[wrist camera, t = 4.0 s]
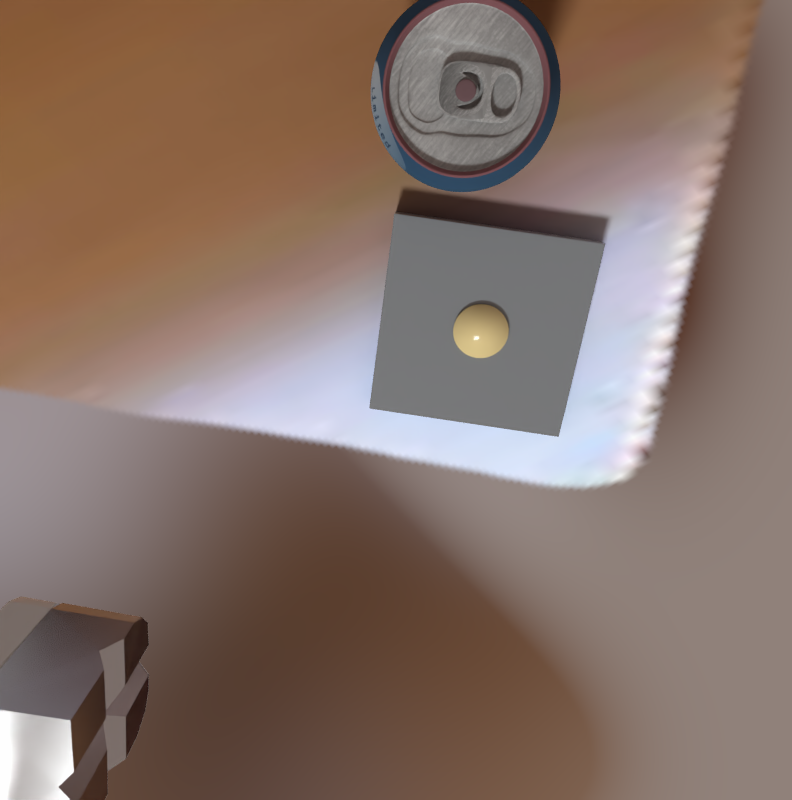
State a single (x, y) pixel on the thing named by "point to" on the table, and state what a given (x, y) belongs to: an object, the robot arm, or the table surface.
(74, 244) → the table surface
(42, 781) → the robot arm
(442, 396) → the slate board
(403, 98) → the soda can
